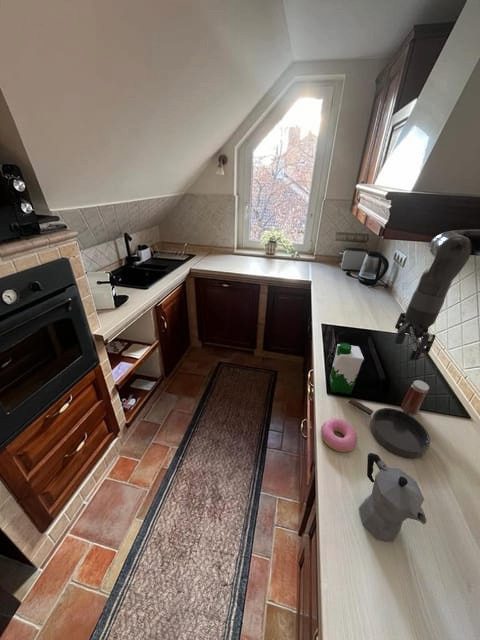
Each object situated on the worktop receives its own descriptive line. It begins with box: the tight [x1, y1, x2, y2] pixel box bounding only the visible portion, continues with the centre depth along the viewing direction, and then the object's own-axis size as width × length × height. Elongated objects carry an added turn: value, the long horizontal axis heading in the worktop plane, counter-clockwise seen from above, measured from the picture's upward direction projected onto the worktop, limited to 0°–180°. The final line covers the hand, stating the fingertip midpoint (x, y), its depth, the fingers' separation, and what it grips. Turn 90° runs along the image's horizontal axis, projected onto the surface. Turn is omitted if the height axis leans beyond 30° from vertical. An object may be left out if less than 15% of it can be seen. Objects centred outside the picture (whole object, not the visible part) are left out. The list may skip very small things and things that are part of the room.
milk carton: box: [328, 342, 365, 395], centre depth 96 cm, size 9×9×20 cm
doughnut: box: [320, 417, 358, 453], centre depth 80 cm, size 11×11×4 cm
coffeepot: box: [358, 452, 427, 543], centre depth 59 cm, size 15×9×18 cm, turn 16°
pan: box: [369, 407, 431, 460], centre depth 82 cm, size 16×16×4 cm
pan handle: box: [347, 397, 374, 417], centre depth 90 cm, size 8×2×1 cm, turn 44°
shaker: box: [400, 379, 430, 416], centre depth 89 cm, size 5×5×12 cm
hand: (405, 351), depth 80 cm, fingers open, 8 cm apart
